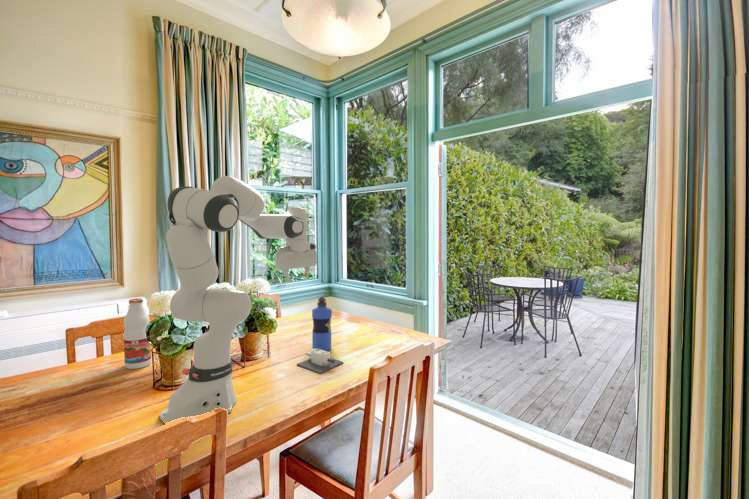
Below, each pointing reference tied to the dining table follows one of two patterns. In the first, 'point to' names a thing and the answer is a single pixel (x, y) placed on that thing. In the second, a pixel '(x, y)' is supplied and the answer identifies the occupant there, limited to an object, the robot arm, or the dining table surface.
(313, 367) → the mat
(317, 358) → the plug
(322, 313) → the water bottle
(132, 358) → the fruit juice
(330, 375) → the dining table surface
